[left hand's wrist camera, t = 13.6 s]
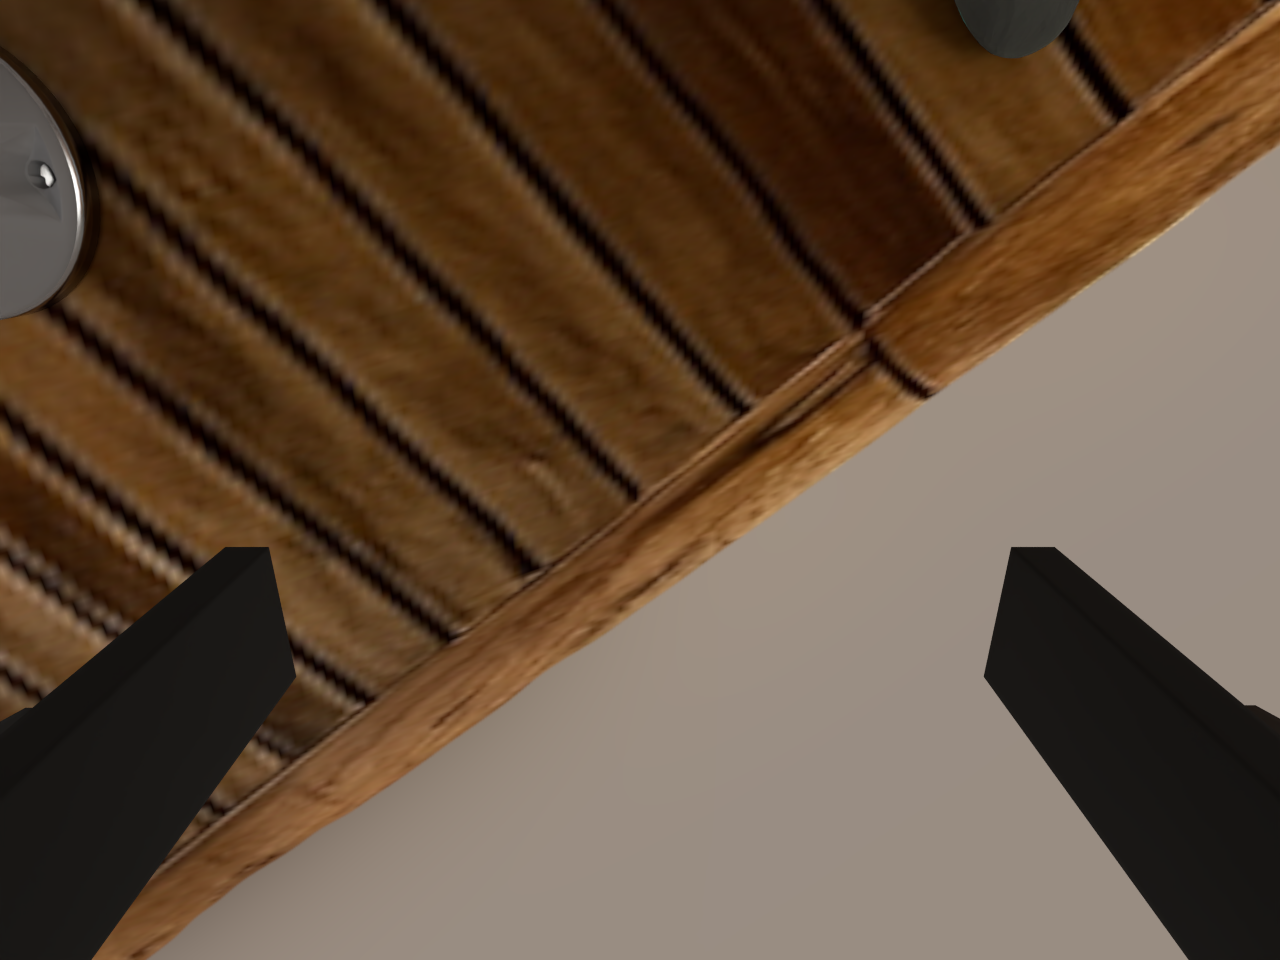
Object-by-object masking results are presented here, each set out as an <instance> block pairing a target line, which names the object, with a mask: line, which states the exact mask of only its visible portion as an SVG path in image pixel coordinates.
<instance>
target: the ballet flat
mask: <svg viewBox="0 0 1280 960" xmlns="http://www.w3.org/2000/svg"><path fill="white" fill-rule="evenodd" d="M1078 2H1079V0H955V3H956V6H957V8H958V10H959V12H960V14H961V16H962V19H963V21H964V22H965V24H966V26H967V27H968V29H969V31H970V32H971V33H972V35H973V36H974V37H975V38H976V40H977V41H978V43H979V44H980V45H981V46H983V47H984V48H985V49H986V50H987V51H989V52H990V53H991V54H994V55H997V56H1000V57H1004V58H1020V57H1023V56H1027V55H1029V54H1032V53H1034V52H1036V51H1038V50H1040V49H1042V48H1043V47H1045V46H1047V45H1048V44H1049V43H1051V42H1052V41H1053V40H1054V39H1055V38H1056V37H1057V36H1058V35H1059V34H1060V33H1061V32H1062V31H1063V30H1064V28H1065V27H1066V26H1067V24H1068V23H1069V21H1070V19H1071V17H1072V15H1073V13H1074V11H1075V8H1076V6H1077V4H1078Z"/></svg>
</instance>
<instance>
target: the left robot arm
mask: <svg viewBox="0 0 1280 960" xmlns="http://www.w3.org/2000/svg"><path fill="white" fill-rule="evenodd" d="M99 229H100V202H99V194H98V188H97V183H96V178H95V175H94V171H93V168H92V165H91V161H90V159H89V156H88V154H87V151H86V149H85V146H84V144H83V142H82V140H81V138H80V136H79V134H78V132H77V130H76V128H75V127H74V125H73V123H72V121H71V120H70V118H69V116H68V115H67V113H66V112H65V111H64V109H63V108H62V106H61V105H60V103H59V102H58V101H57V99H56V98H55V97H54V96H53V94H52V93H51V92H50V91H49V89H48V88H47V87H46V86H45V85H44V84H43V83H42V82H41V81H40V80H39V78H38V77H37V76H36V75H35V74H34V73H32V72H31V71H30V70H29V69H28V68H27V67H26V66H25V65H24V64H23V63H22V62H20V61H19V60H18V59H17V58H15V57H14V56H13V55H12V54H10V53H9V52H8V51H6V50H5V49H3V48H2V47H0V320H1V319H7V318H12V317H18V316H23V315H28V314H31V313H35V312H38V311H41V310H43V309H46V308H48V307H50V306H52V305H53V304H55V303H57V302H59V301H60V300H61V299H63V298H64V297H65V296H67V295H68V294H69V293H70V292H71V291H72V290H73V289H74V288H75V287H76V286H77V284H78V283H79V282H80V281H81V279H82V278H83V276H84V275H85V273H86V271H87V270H88V268H89V266H90V264H91V261H92V259H93V256H94V253H95V250H96V247H97V242H98V237H99ZM295 678H296V673H295V669H294V664H293V659H292V654H291V650H290V645H289V640H288V636H287V631H286V626H285V621H284V617H283V612H282V607H281V603H280V598H279V593H278V589H277V584H276V579H275V574H274V570H273V565H272V560H271V556H270V551H269V547H225V548H224V549H223V550H221V551H220V552H219V553H218V554H217V555H215V556H214V557H213V558H212V559H211V560H209V561H208V562H207V563H206V564H205V565H203V566H202V567H201V568H200V569H199V570H197V571H196V572H195V573H194V574H193V575H191V576H190V577H189V578H188V579H187V580H185V581H184V582H183V583H182V584H181V585H179V586H178V587H177V588H176V589H175V590H173V591H172V592H171V593H170V594H169V595H167V596H166V597H165V598H164V599H163V600H161V601H160V602H159V603H158V604H157V605H155V606H154V607H153V608H152V609H151V610H149V611H148V612H147V613H146V614H145V615H143V616H142V617H141V618H140V619H139V620H137V621H136V622H135V623H134V624H133V625H131V626H130V627H129V628H128V629H127V630H125V631H124V632H123V633H122V634H121V635H119V636H118V637H117V638H116V639H115V640H113V641H112V642H111V643H110V644H109V645H107V646H106V647H105V648H104V649H103V650H101V651H100V652H99V653H98V654H97V655H95V656H94V657H93V658H92V659H91V660H89V661H88V662H87V663H86V664H85V665H83V666H82V667H81V668H80V669H79V670H77V671H76V672H75V673H74V674H73V675H71V676H70V677H69V678H68V679H67V680H65V681H64V682H63V683H62V684H61V685H59V686H58V687H57V688H56V689H55V690H53V691H52V692H51V693H50V694H49V695H47V696H46V697H45V698H44V699H43V700H41V701H40V702H39V703H38V704H37V705H35V706H34V707H33V708H24V709H23V710H21V711H19V712H17V713H15V714H13V715H12V716H10V717H8V718H6V719H4V720H3V721H1V722H0V960H92V958H93V957H94V955H95V954H96V953H97V951H98V950H99V948H100V947H101V946H102V944H103V943H104V942H105V940H106V939H107V937H108V936H109V935H110V933H111V932H112V931H113V929H114V928H115V926H116V925H117V924H118V922H119V921H120V919H121V918H122V917H123V915H124V914H125V913H126V911H127V910H128V908H129V907H130V906H131V904H132V903H133V902H134V900H135V899H136V897H137V896H138V895H139V893H140V892H141V890H142V889H143V888H144V886H145V885H146V884H147V882H148V881H149V879H150V878H151V877H152V875H153V874H154V872H155V871H156V870H157V868H158V867H159V866H160V864H161V863H162V861H163V860H164V859H165V857H166V856H167V855H168V853H169V852H170V850H171V849H172V848H173V846H174V845H175V843H176V842H177V841H178V839H179V838H180V837H181V835H182V834H183V832H184V831H185V830H186V828H187V827H188V826H189V824H190V823H191V821H192V820H193V819H194V817H195V816H196V814H197V813H198V812H199V810H200V809H201V808H202V806H203V805H204V803H205V802H206V801H207V799H208V798H209V796H210V795H211V794H212V792H213V791H214V790H215V788H216V787H217V785H218V784H219V783H220V781H221V780H222V779H223V777H224V776H225V774H226V773H227V772H228V770H229V769H230V767H231V766H232V765H233V763H234V762H235V761H236V759H237V758H238V756H239V755H240V754H241V752H242V751H243V749H244V748H245V747H246V745H247V744H248V743H249V741H250V740H251V738H252V737H253V736H254V734H255V733H256V732H257V730H258V729H259V727H260V726H261V725H262V723H263V722H264V720H265V719H266V718H267V716H268V715H269V714H270V712H271V711H272V709H273V708H274V707H275V705H276V704H277V703H278V701H279V700H280V698H281V697H282V696H283V694H284V693H285V691H286V690H287V689H288V687H289V686H290V685H291V683H292V682H293V680H294V679H295ZM984 678H985V679H986V680H987V682H988V683H989V685H990V686H991V687H992V689H993V690H994V691H995V693H996V694H997V696H998V697H999V698H1000V700H1001V701H1002V703H1003V704H1004V705H1005V707H1006V708H1007V709H1008V711H1009V712H1010V713H1011V715H1012V716H1013V718H1014V719H1015V720H1016V722H1017V723H1018V725H1019V726H1020V727H1021V729H1022V730H1023V732H1024V733H1025V734H1026V736H1027V737H1028V738H1029V740H1030V741H1031V743H1032V744H1033V745H1034V747H1035V748H1036V749H1037V751H1038V752H1039V754H1040V755H1041V756H1042V758H1043V759H1044V761H1045V762H1046V763H1047V765H1048V766H1049V767H1050V769H1051V770H1052V772H1053V773H1054V774H1055V776H1056V777H1057V778H1058V780H1059V781H1060V783H1061V784H1062V785H1063V787H1064V788H1065V789H1066V791H1067V792H1068V794H1069V795H1070V796H1071V798H1072V799H1073V801H1074V802H1075V803H1076V805H1077V806H1078V807H1079V809H1080V810H1081V812H1082V813H1083V814H1084V816H1085V817H1086V819H1087V820H1088V821H1089V823H1090V824H1091V825H1092V827H1093V828H1094V830H1095V831H1096V832H1097V834H1098V835H1099V837H1100V838H1101V839H1102V841H1103V842H1104V843H1105V845H1106V846H1107V848H1108V849H1109V850H1110V852H1111V853H1112V855H1113V856H1114V857H1115V859H1116V860H1117V861H1118V863H1119V864H1120V866H1121V867H1122V868H1123V870H1124V871H1125V872H1126V874H1127V875H1128V877H1129V878H1130V879H1131V881H1132V882H1133V884H1134V885H1135V886H1136V888H1137V889H1138V890H1139V892H1140V893H1141V895H1142V896H1143V897H1144V899H1145V900H1146V901H1147V903H1148V904H1149V906H1150V907H1151V908H1152V910H1153V911H1154V913H1155V914H1156V915H1157V917H1158V918H1159V919H1160V921H1161V922H1162V924H1163V925H1164V926H1165V928H1166V929H1167V931H1168V932H1169V933H1170V935H1171V936H1172V937H1173V939H1174V940H1175V942H1176V943H1177V944H1178V946H1179V947H1180V948H1181V950H1182V951H1183V953H1184V954H1185V955H1186V957H1187V958H1188V960H1280V719H1279V718H1278V717H1276V716H1274V715H1272V714H1270V713H1268V712H1267V711H1265V710H1263V709H1261V708H1259V707H1257V706H1256V705H1243V704H1242V703H1241V702H1240V701H1239V700H1237V699H1236V698H1235V697H1234V696H1233V695H1231V694H1230V693H1229V692H1228V691H1227V690H1225V689H1224V688H1223V687H1222V686H1221V685H1219V684H1218V683H1217V682H1216V681H1215V680H1213V679H1212V678H1211V677H1210V676H1209V675H1207V674H1206V673H1205V672H1204V671H1203V670H1201V669H1200V668H1199V667H1198V666H1197V665H1195V664H1194V663H1193V662H1192V661H1191V660H1189V659H1188V658H1187V657H1186V656H1185V655H1183V654H1182V653H1181V652H1180V651H1179V650H1177V649H1176V648H1175V647H1174V646H1173V645H1171V644H1170V643H1169V642H1168V641H1167V640H1165V639H1164V638H1163V637H1162V636H1160V635H1159V634H1158V633H1157V632H1156V631H1155V630H1153V629H1152V628H1151V627H1150V626H1149V625H1147V624H1146V623H1145V622H1144V621H1143V620H1141V619H1140V618H1139V617H1138V616H1137V615H1135V614H1134V613H1133V612H1132V611H1131V610H1129V609H1128V608H1127V607H1126V606H1125V605H1123V604H1122V603H1121V602H1120V601H1119V600H1117V599H1116V598H1115V597H1114V596H1113V595H1111V594H1110V593H1109V592H1108V591H1107V590H1105V589H1104V588H1103V587H1102V586H1101V585H1099V584H1098V583H1097V582H1096V581H1095V580H1093V579H1092V578H1091V577H1090V576H1089V575H1087V574H1086V573H1085V572H1084V571H1083V570H1081V569H1080V568H1079V567H1078V566H1077V565H1075V564H1074V563H1073V562H1072V561H1071V560H1069V559H1068V558H1067V557H1066V556H1065V555H1063V554H1062V553H1061V552H1060V551H1059V550H1057V549H1056V548H1055V547H1011V551H1010V556H1009V560H1008V565H1007V570H1006V575H1005V579H1004V584H1003V589H1002V593H1001V598H1000V603H999V607H998V612H997V617H996V622H995V626H994V631H993V636H992V641H991V645H990V650H989V655H988V659H987V664H986V669H985V673H984Z"/></svg>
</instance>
